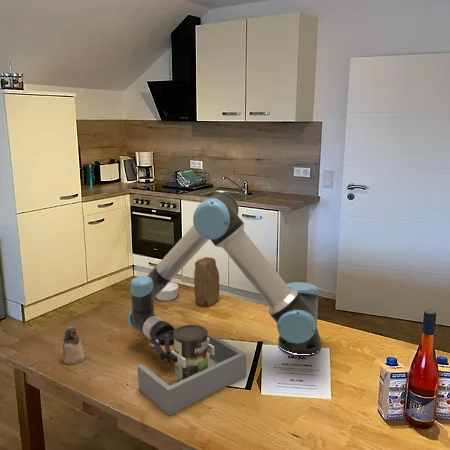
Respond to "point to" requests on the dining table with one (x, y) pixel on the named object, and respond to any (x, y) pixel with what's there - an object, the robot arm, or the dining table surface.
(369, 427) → the dining table surface
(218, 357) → the grey u-shaped bracket
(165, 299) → the ramekin
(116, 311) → the dining table surface
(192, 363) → the coffee can
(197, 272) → the block
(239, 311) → the dining table surface
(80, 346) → the figurine
